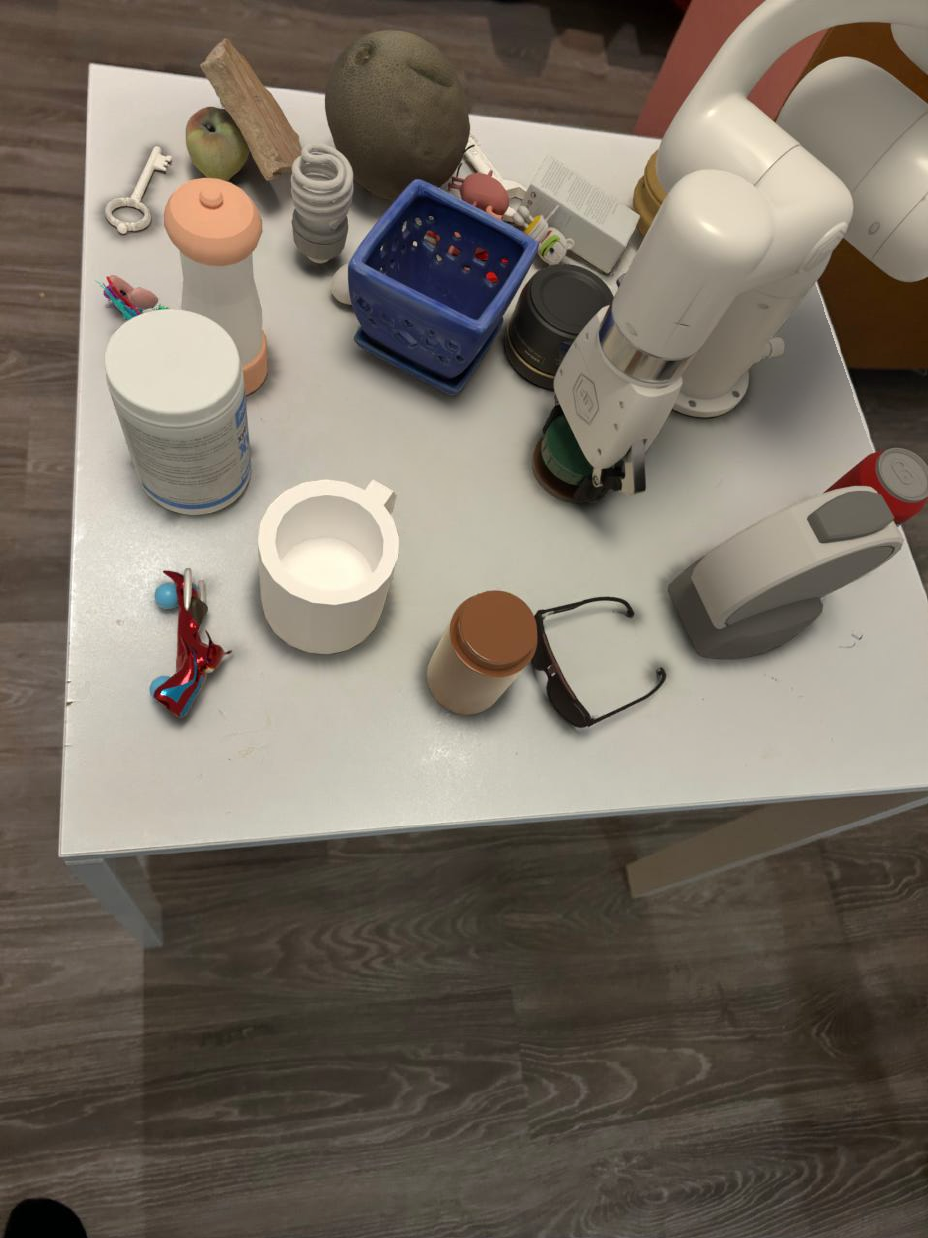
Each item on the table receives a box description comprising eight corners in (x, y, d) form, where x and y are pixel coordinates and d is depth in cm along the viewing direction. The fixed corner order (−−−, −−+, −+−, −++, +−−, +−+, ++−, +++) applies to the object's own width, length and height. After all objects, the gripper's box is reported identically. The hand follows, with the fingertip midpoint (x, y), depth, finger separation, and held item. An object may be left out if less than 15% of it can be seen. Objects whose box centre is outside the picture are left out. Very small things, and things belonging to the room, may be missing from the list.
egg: (333, 317, 80) (348, 308, 83) (384, 293, 78) (397, 284, 81) (314, 279, 79) (330, 271, 82) (365, 252, 76) (380, 245, 79)
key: (141, 233, 78) (96, 221, 78) (143, 241, 79) (98, 229, 79) (178, 149, 83) (136, 137, 83) (179, 157, 84) (137, 145, 83)
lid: (555, 492, 75) (561, 481, 73) (530, 428, 77) (536, 416, 75) (621, 479, 77) (629, 469, 75) (596, 417, 79) (603, 406, 77)
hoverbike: (131, 712, 59) (204, 701, 58) (140, 565, 64) (208, 553, 63) (166, 730, 64) (235, 720, 63) (172, 592, 68) (236, 580, 68)
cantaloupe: (292, 134, 75) (407, 250, 84) (400, 3, 69) (511, 142, 79) (288, 92, 85) (392, 200, 94) (383, -27, 79) (483, 101, 88)
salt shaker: (282, 380, 76) (282, 212, 59) (210, 410, 74) (188, 242, 56) (243, 323, 78) (231, 142, 60) (171, 350, 75) (137, 169, 58)
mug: (324, 495, 73) (331, 426, 63) (423, 553, 73) (445, 492, 63) (236, 613, 67) (228, 557, 58) (343, 677, 67) (353, 630, 57)
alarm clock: (781, 538, 81) (908, 433, 65) (829, 631, 78) (975, 545, 62) (643, 577, 76) (742, 473, 60) (689, 677, 74) (807, 597, 57)
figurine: (418, 261, 87) (481, 277, 85) (414, 236, 83) (479, 252, 82) (461, 180, 90) (521, 195, 89) (458, 153, 87) (521, 168, 86)
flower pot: (397, 269, 84) (414, 168, 73) (511, 329, 84) (545, 237, 73) (334, 356, 78) (343, 261, 68) (457, 420, 79) (485, 336, 68)
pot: (648, 281, 91) (689, 206, 82) (604, 201, 94) (639, 121, 85) (733, 266, 94) (781, 193, 85) (688, 190, 98) (730, 112, 89)
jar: (568, 241, 80) (545, 298, 87) (501, 287, 76) (482, 342, 83) (643, 308, 79) (614, 360, 86) (578, 358, 75) (553, 408, 82)
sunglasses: (505, 632, 71) (527, 608, 67) (612, 598, 77) (639, 574, 72) (557, 743, 69) (584, 726, 64) (664, 700, 74) (696, 681, 70)
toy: (486, 127, 79) (590, 239, 85) (484, 123, 81) (586, 233, 88) (440, 184, 81) (545, 289, 88) (440, 179, 84) (541, 281, 90)
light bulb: (357, 259, 84) (368, 155, 73) (324, 291, 81) (331, 189, 70) (312, 229, 84) (316, 122, 73) (278, 260, 82) (277, 153, 71)
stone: (300, 175, 89) (318, 160, 88) (267, 185, 79) (287, 168, 78) (221, 54, 84) (239, 37, 83) (175, 48, 74) (195, 29, 73)
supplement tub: (271, 492, 72) (268, 387, 59) (168, 536, 68) (141, 436, 55) (218, 408, 74) (204, 289, 61) (116, 447, 71) (77, 330, 57)
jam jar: (486, 631, 71) (523, 573, 60) (514, 701, 69) (558, 654, 58) (415, 653, 69) (440, 597, 58) (442, 725, 67) (474, 681, 56)
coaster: (590, 425, 82) (592, 421, 81) (623, 492, 80) (625, 489, 79) (519, 440, 79) (520, 437, 79) (550, 511, 77) (552, 508, 77)
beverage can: (818, 575, 81) (902, 517, 70) (781, 519, 82) (857, 453, 71) (866, 553, 83) (955, 493, 72) (829, 498, 85) (910, 431, 74)
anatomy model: (55, 283, 69) (90, 335, 75) (130, 325, 68) (159, 374, 74) (95, 240, 70) (126, 295, 77) (169, 281, 69) (194, 333, 75)
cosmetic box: (513, 215, 88) (607, 275, 90) (529, 182, 84) (627, 246, 86) (532, 184, 91) (622, 243, 92) (548, 151, 87) (642, 214, 89)
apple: (258, 148, 86) (257, 95, 81) (241, 202, 83) (238, 150, 78) (201, 132, 85) (195, 78, 80) (181, 186, 82) (174, 133, 77)
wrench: (538, 216, 91) (544, 202, 89) (500, 229, 89) (505, 214, 88) (421, 63, 96) (423, 47, 95) (382, 72, 94) (384, 56, 93)
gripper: (562, 254, 64) (503, 396, 80) (656, 439, 59) (573, 551, 75) (642, 243, 66) (570, 384, 82) (739, 420, 61) (642, 532, 77)
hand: (572, 462), depth 78 cm, fingers closed on lid, 6 cm apart
